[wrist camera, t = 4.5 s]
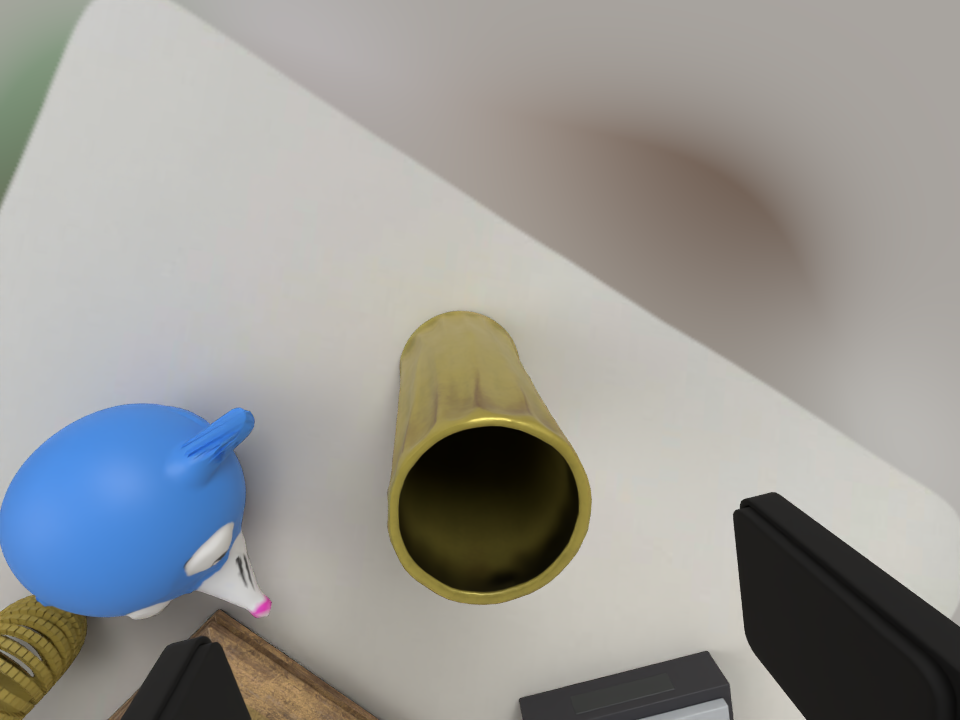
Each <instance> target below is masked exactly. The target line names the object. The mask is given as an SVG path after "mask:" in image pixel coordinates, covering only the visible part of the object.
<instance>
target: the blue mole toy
mask: <svg viewBox="0 0 960 720" xmlns="http://www.w3.org/2000/svg"><path fill="white" fill-rule="evenodd" d="M254 422H255V421H254V417H253V415H252V414H251V412H250V411H247V410H243V409H242V408H235V409H232V410H231V411H229V412H228V413H226V414H225V415H224V416H222V417H221V418H219V419H218V420H216V421H215V422H214V423H212V424H210V423H208V422H207V421H206V420H204V419H203V418H201V417H200V416H198V415H196V414H194V413H192V412H190V411H187V410H185V409H181V408H177V407H171V406H163V405H157V404H127V405H120V406H115V407H111V408H107V409H104V410H100V411H98V412H95V413H92V414H90V415H87V416H85V417H83V418H81V419H79V420H77V421H75V422H73V423H71V424H70V425H68V426H66V427H65V428H63V429H61V430H60V431H59V432H57V433H56V434H54V435H53V436H52V437H50V438H49V439H48V440H47V441H45V442H44V443H43V444H42V445H41V446H40V447H39V448H38V449H36V450H35V451H34V452H33V453H32V455H31V456H30V457H29V458H28V459H27V460H26V461H25V462H24V464H23V465H22V466H21V468H20V469H19V470H18V472H17V473H16V475H15V476H14V478H13V480H12V482H11V483H10V485H9V487H8V489H7V492H6V494H5V497H4V499H3V503H2V506H1V510H0V545H1V548H2V552H3V554H4V557H5V559H6V561H7V563H8V565H9V567H10V569H11V571H12V572H13V574H14V575H15V576H16V578H17V579H18V580H19V581H20V582H21V584H22V585H23V586H24V587H25V588H26V589H27V590H29V591H30V592H31V593H32V594H33V595H35V596H36V600H37V602H40V603H41V604H42V605H43V606H44V607H46V606H54V607H56V608H59V609H61V610H64V611H67V612H71V613H74V614H79V615H84V616H92V617H117V616H124V615H127V616H129V617H131V618H132V619H145V618H149V617H152V616H155V615H158V614H159V613H161V612H162V611H163V610H164V608H165V607H167V605H168V604H169V602H170V601H171V600H172V599H174V598H177V597H179V596H181V595H183V594H187V593H191V592H192V591H200V592H203V593H206V594H209V595H212V596H214V597H217V598H220V599H222V600H225V601H227V602H230V603H232V604H234V605H237V606H239V607H242V608H245V609H247V610H248V611H249V612H250V613H251V614H252V615H253V616H254V617H256V618H260V617H265V616H268V615H269V612H270V609H271V604H272V602H271V601H270V600H269V598H268V597H267V596H265V595H264V594H263V593H262V591H261V590H260V588H259V586H258V584H257V581H256V578H255V575H254V572H253V569H252V566H251V563H250V560H249V557H248V553H247V549H246V543H245V539H244V536H243V533H242V529H241V524H242V518H243V513H244V507H245V500H246V486H245V479H244V475H243V471H242V468H241V465H240V463H239V461H238V458H237V456H236V455H235V453H234V451H233V450H234V449H235V448H236V447H237V446H238V445H239V444H240V443H241V442H242V441H243V440H244V439H245V438H246V437H247V436H248V435H249V434H250V433H251V431H252V429H253V427H254Z"/></svg>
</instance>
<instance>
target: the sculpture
mask: <svg viewBox="0 0 960 720" xmlns="http://www.w3.org/2000/svg"><path fill="white" fill-rule="evenodd" d="M45 622H46V623H45ZM18 625H23V626H26V627H29V628H31V629H33V630H34V629H35V631H36V632H38V633H39V634H40V635H39V634H38V633H37V634H36V633H35V632H34V631H33V632H32V630H31V631H30V629H28V630H27V628H26V629H25V627H22V626H18ZM86 631H87V619H86V616H84V615H79V614H74V613H71V612H67V611H64V610H61V609H59V608H56V607H54V606H46V607H44V606H43V605H42V604H41V603H40V602H37V600H36V596H35V595H32V596H27V597H26V598H23V599H20V600H18V601H16V602H15V603H13V604H11V605H9V606H8V607H6V608H5V609H4V610H2V611H1V612H0V649H1V650H2V649H3V651H5V652H7V651H8V653H9V654H11V655H12V654H13V656H14V655H15V657H16V658H17V657H18V659H20V660H21V661H22V662H23V663H24V662H25V663H24V664H26V665H27V666H28V667H29V668H30V669H31V670H32V672H33V674H34V677H31V675H30V674H29V673H28V672H27V671H26V670H25V669H24V668H21V666H20V665H19V664H18V663H16V662H15V661H14V660H11V658H8V656H7V655H6V656H5V654H3V653H2V652H0V720H22V719H23V718H24V717H25V716H26V714H28V713H29V712H30V711H31V710H32V709H33V708H34V707H35V706H34V705H36V704H37V703H38V702H39V701H40V700H41V699H42V698H43V696H44V695H46V694H47V693H48V691H49V690H50V689H51V687H53V686H54V685H55V684H56V682H57V681H58V680H59V679H60V678H61V677H62V675H63V674H64V673H65V672H66V670H67V668H69V667H70V664H72V663H73V661H74V659H75V658H76V657H77V655H78V654H79V652H80V650H81V647H82V646H83V644H84V640H85V637H86V634H87V633H86ZM34 633H35V634H34ZM1 634H2V635H3V636H2V635H1ZM5 634H6V635H9V636H11V635H12V637H15V636H16V638H19V639H22V640H24V641H25V642H27V641H28V643H29V644H30V645H32V647H33V648H34V649H35V650H36V651H38V652H37V653H38V654H39V656H40V658H41V660H43V661H41V660H40V659H39V658H38V657H37V656H35V655H34V654H33V653H32V654H31V652H30V651H28V649H27V648H26V647H25V648H24V647H23V646H22V645H21V644H20V643H16V642H17V641H16V642H15V640H14V641H13V639H11V638H10V639H9V637H8V638H7V636H6V637H5V636H4V635H5ZM43 634H44V635H43ZM42 635H43V636H44V637H42ZM40 636H41V637H42V639H41V637H40ZM47 638H48V639H47ZM21 646H22V647H21ZM18 649H19V650H18ZM17 650H18V651H17ZM36 657H37V658H38V659H39V660H40V661H39V660H38V659H37V658H36ZM14 662H15V663H14ZM42 663H43V664H44V665H43V664H42ZM19 666H20V667H19ZM24 670H25V671H24ZM2 672H3V673H2ZM5 674H6V676H5Z"/></svg>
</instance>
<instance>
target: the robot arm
mask: <svg viewBox="0 0 960 720" xmlns="http://www.w3.org/2000/svg"><path fill="white" fill-rule="evenodd" d="M733 521H734V531H735V541H736V551H737V561H738V571H739V580H740V590H741V600H742V610H743V620H744V630H745V635H746V638H747V641H748V643H749V645H750V647H751V649H752V651H753V652H754V653H755V655H756V656H757V657H758V659H759V660H760V661H761V663H762V664H763V665H764V666H765V668H766V669H767V670H768V671H769V673H770V674H771V675H772V677H773V678H774V679H775V680H776V682H777V683H778V684H779V685H780V687H781V688H782V689H783V691H784V692H785V693H786V694H787V696H788V697H789V698H790V699H791V701H792V702H793V703H794V704H795V706H796V707H797V708H798V710H799V711H800V712H801V713H802V715H803V716H804V717H805V718H806V720H960V627H959V626H958V625H957V624H955V623H954V622H953V621H951V620H950V619H949V618H947V617H946V616H944V615H943V614H942V613H940V612H939V611H938V610H936V609H935V608H934V607H932V606H931V605H929V604H928V603H927V602H925V601H924V600H923V599H921V598H920V597H919V596H917V595H916V594H914V593H913V592H912V591H910V590H909V589H908V588H906V587H905V586H904V585H902V584H901V583H899V582H898V581H897V580H895V579H894V578H893V577H891V576H890V575H889V574H887V573H886V572H884V571H883V570H882V569H880V568H879V567H878V566H876V565H875V564H874V563H872V562H871V561H869V560H868V559H867V558H865V557H864V556H863V555H861V554H860V553H859V552H857V551H856V550H854V549H853V548H852V547H850V546H849V545H848V544H846V543H845V542H844V541H842V540H841V539H839V538H838V537H837V536H835V535H834V534H833V533H831V532H830V531H829V530H827V529H826V528H824V527H823V526H822V525H820V524H819V523H818V522H816V521H815V520H814V519H812V518H811V517H809V516H808V515H807V514H805V513H804V512H803V511H801V510H800V509H799V508H797V507H796V506H794V505H793V504H792V503H790V502H789V501H788V500H786V499H785V498H784V497H782V496H781V495H779V494H777V493H775V492H771V493H767V494H763V495H759V496H755V497H751V498H747V499H744V500H742V501H741V504H740V509H738V510H735V511H734V514H733ZM120 720H252V719H251V716H250V714H249V711H248V709H247V707H246V704H245V702H244V699H243V697H242V694H241V692H240V689H239V687H238V684H237V682H236V679H235V677H234V675H233V672H232V670H231V667H230V665H229V662H228V660H227V657H226V655H225V652H224V650H223V648H222V646H221V644H220V643H218V642H213V643H212V641H211V640H210V639H209V638H208V637H207V636H200V637H196V638H192V639H188V640H184V641H180V642H176V643H173V644H170V645H168V646H167V647H166V648H165V649H164V651H163V652H162V654H161V655H160V657H159V659H158V660H157V662H156V663H155V665H154V667H153V668H152V670H151V671H150V673H149V675H148V676H147V678H146V679H145V681H144V683H143V684H142V686H141V687H140V689H139V691H138V692H137V694H136V695H135V697H134V699H133V700H132V702H131V703H130V705H129V707H128V708H127V710H126V711H125V713H124V715H123V716H122V718H121V719H120Z"/></svg>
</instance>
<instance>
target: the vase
mask: <svg viewBox="0 0 960 720" xmlns="http://www.w3.org/2000/svg"><path fill="white" fill-rule="evenodd" d="M387 495H388V522H387V527H388V532H389V537H390V541H391V543H392V545H393V547H394V550H395V552H396V554H397V556H398V558H399V560H400V562H401V564H402V565H403V567H404V569H405V570H406V571H407V572H408V573H409V574H410V575H411V576H412V577H413V578H414V579H415V580H417V581H418V582H419V583H421V584H422V585H424V586H425V587H427V588H428V589H430V590H431V591H433V592H434V593H436V594H438V595H440V596H442V597H444V598H446V599H448V600H452V601H456V602H460V603H466V604H478V605H487V604H498V603H503V602H507V601H510V600H513V599H516V598H519V597H522V596H525V595H528V594H530V593H532V592H534V591H536V590H538V589H540V588H542V587H543V586H545V585H546V584H548V583H549V582H550V581H552V580H553V579H554V578H555V577H556V576H557V575H558V574H560V572H561V571H562V570H563V569H564V568H565V567H566V566H567V565H568V564H569V562H570V561H571V560H572V559H573V557H574V556H575V555H576V553H577V552H578V550H579V548H580V546H581V544H582V542H583V540H584V538H585V536H586V533H587V531H588V527H589V521H590V515H591V503H592V498H591V489H590V485H589V481H588V478H587V475H586V473H585V470H584V468H583V466H582V464H581V462H580V460H579V458H578V456H577V454H576V452H575V450H574V449H573V447H572V445H571V444H570V442H569V441H568V439H567V438H566V437H565V435H564V434H563V432H562V431H561V429H560V428H559V426H558V425H557V423H556V421H555V420H554V418H553V417H552V415H551V414H550V412H549V410H548V409H547V407H546V405H545V404H544V402H543V400H542V399H541V397H540V396H539V394H538V392H537V391H536V389H535V387H534V385H533V383H532V381H531V379H530V377H529V376H528V374H527V372H526V371H525V369H524V367H523V366H522V364H521V362H520V360H519V355H518V352H517V349H516V346H515V344H514V342H513V340H512V338H511V337H510V335H509V334H508V333H507V331H506V330H505V329H504V328H503V327H501V326H500V325H499V324H498V323H496V322H495V321H493V320H492V319H490V318H488V317H486V316H484V315H481V314H478V313H474V312H468V311H453V312H447V313H443V314H440V315H438V316H436V317H433V318H431V319H430V320H428V321H427V322H425V323H424V324H422V325H421V326H420V327H419V328H418V329H417V330H416V331H415V332H414V333H413V334H412V335H411V337H410V338H409V340H408V341H407V343H406V345H405V347H404V350H403V352H402V355H401V359H400V393H399V402H398V414H397V422H396V433H395V443H394V451H393V461H392V472H391V479H390V485H389V488H388V492H387Z"/></svg>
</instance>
